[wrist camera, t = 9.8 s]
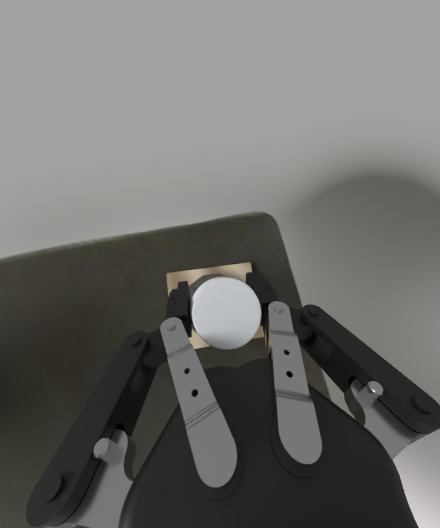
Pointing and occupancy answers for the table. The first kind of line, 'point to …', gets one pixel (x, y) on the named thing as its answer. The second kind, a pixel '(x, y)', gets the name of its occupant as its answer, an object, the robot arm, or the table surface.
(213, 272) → the jig
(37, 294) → the table surface
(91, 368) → the table surface
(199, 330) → the supplement bottle
